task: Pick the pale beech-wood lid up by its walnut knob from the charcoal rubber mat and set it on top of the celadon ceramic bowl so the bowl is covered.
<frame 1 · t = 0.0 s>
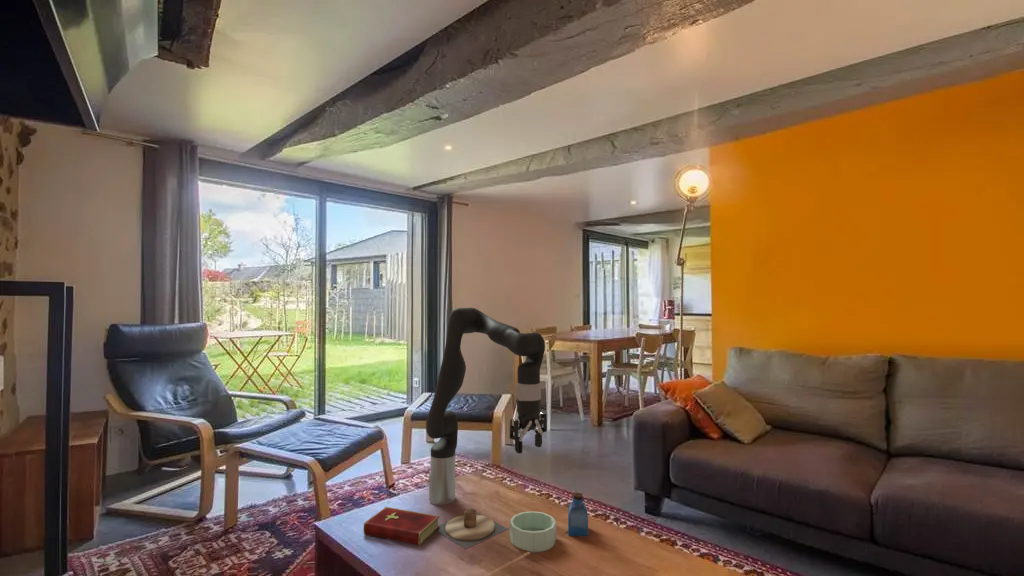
hand: (528, 449, 148), 29 cm above the table, fingers open, 8 cm apart
perfume bottle: (577, 532, 156), on the table
mat: (470, 530, 157), on the table
bowl: (532, 540, 150), on the table
hardcover book: (402, 532, 155), on the table, touching mat
lid: (470, 528, 157), point 1 cm above the table, touching mat
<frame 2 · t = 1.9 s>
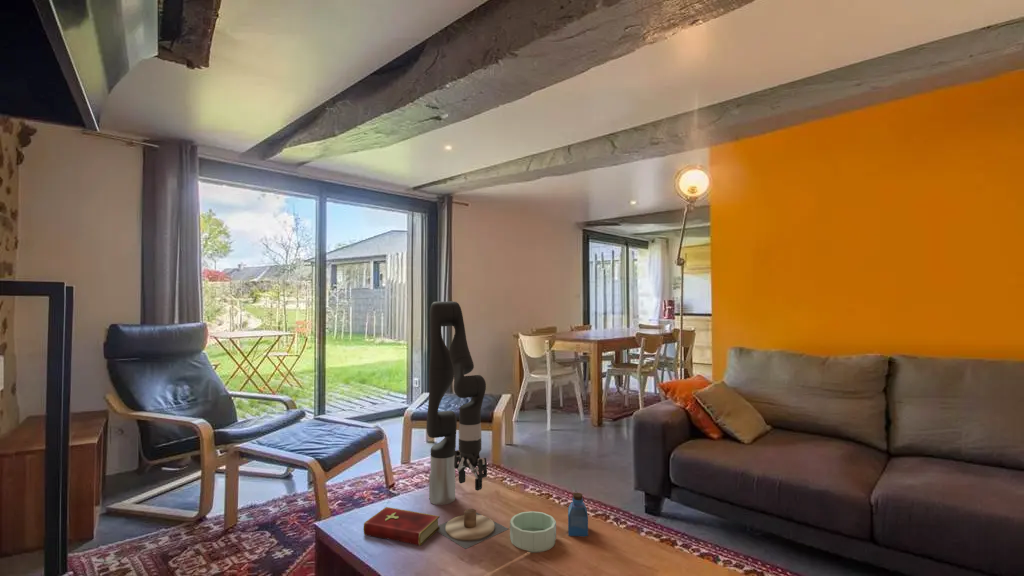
hand: (470, 486, 157), 14 cm above the table, fingers open, 8 cm apart
nothing on the table moved.
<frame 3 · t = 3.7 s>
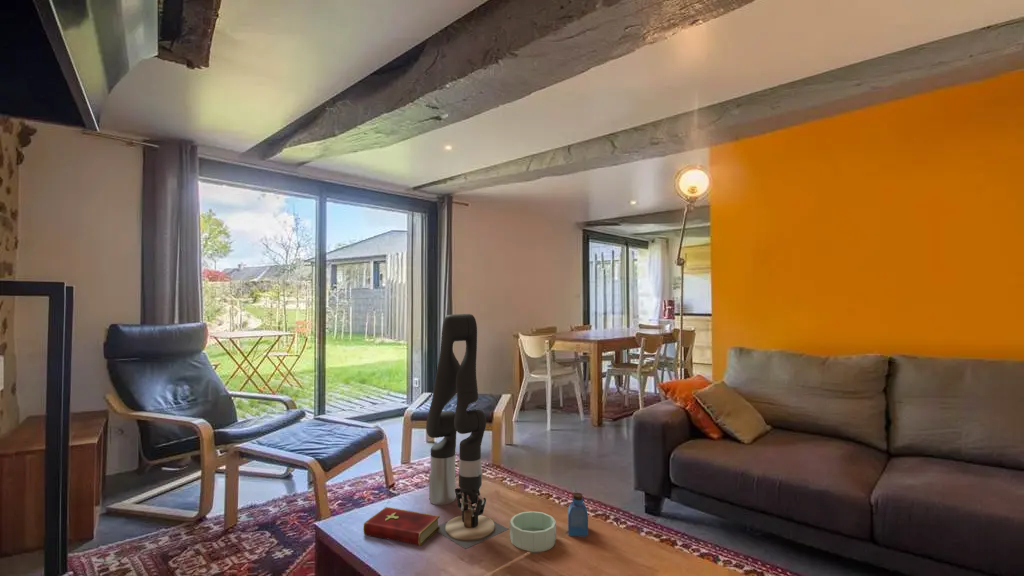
hand: (470, 524, 157), 2 cm above the table, fingers closed on lid, 4 cm apart
lid: (470, 528, 157), point 1 cm above the table, touching gripper, mat
everything else where it was.
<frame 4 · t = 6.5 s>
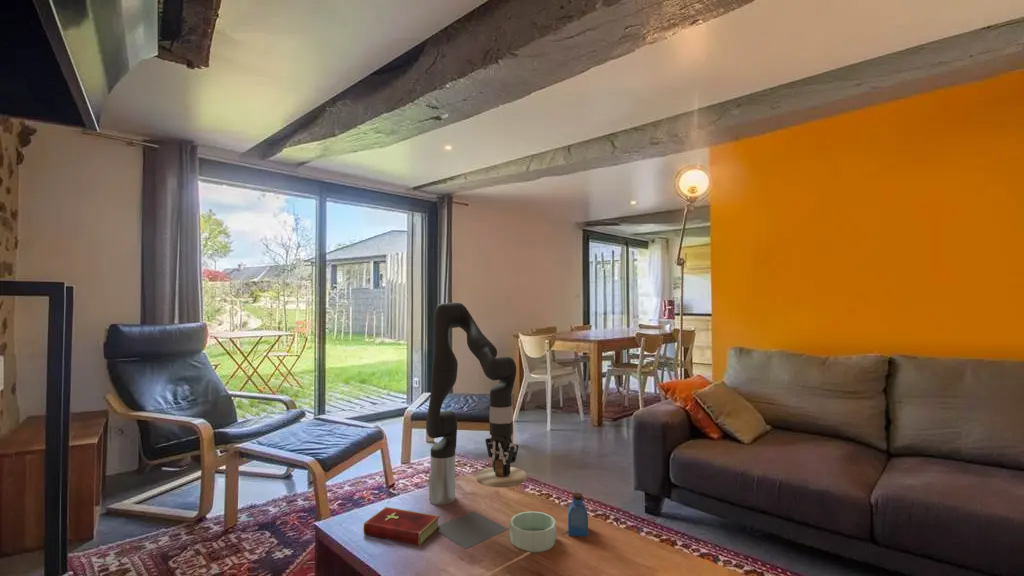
hand: (501, 473, 153), 20 cm above the table, fingers closed on lid, 4 cm apart
lid: (501, 478, 153), point 19 cm above the table, touching gripper
everything else where it was.
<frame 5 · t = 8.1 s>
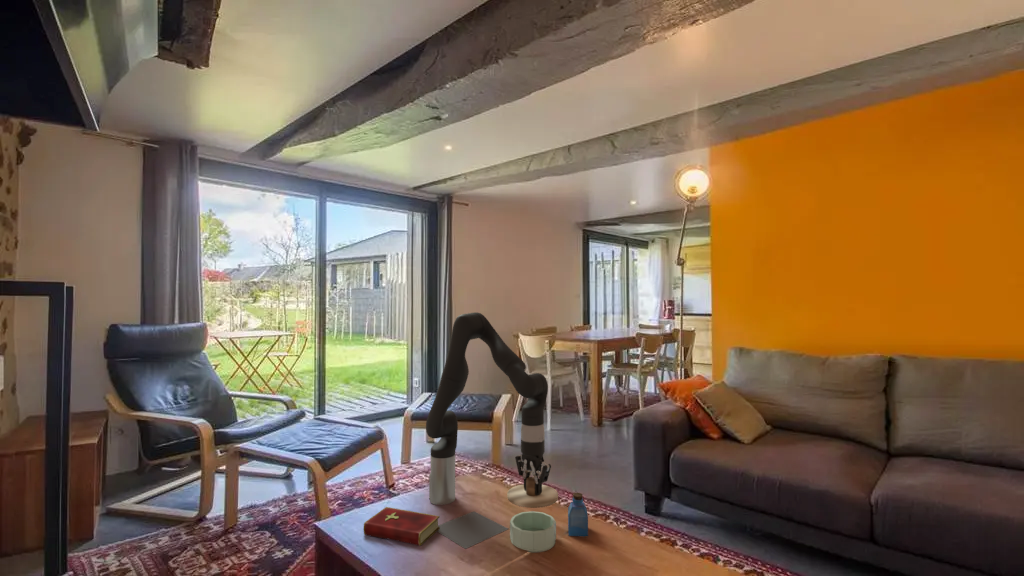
hand: (532, 492, 150), 15 cm above the table, fingers closed on lid, 4 cm apart
lid: (532, 496, 150), point 14 cm above the table, touching gripper
everything else where it was.
when the fingers open (9 cm above the table, at t = 9.5 s): lid drops 1 cm, resting on bowl.
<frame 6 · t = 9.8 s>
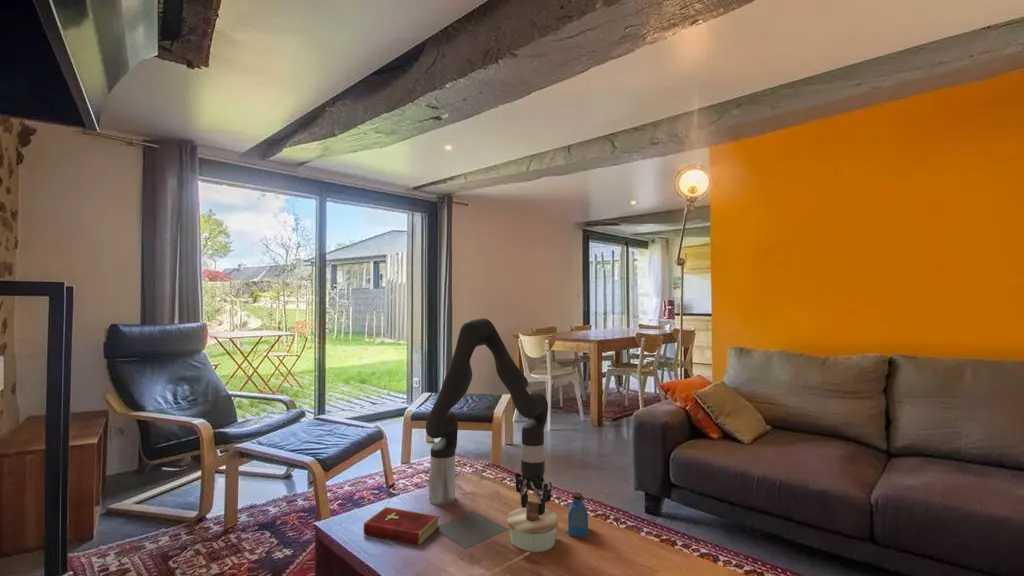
hand: (532, 510, 150), 9 cm above the table, fingers open, 6 cm apart
lid: (532, 521, 150), point 6 cm above the table, touching bowl
everything else where it was.
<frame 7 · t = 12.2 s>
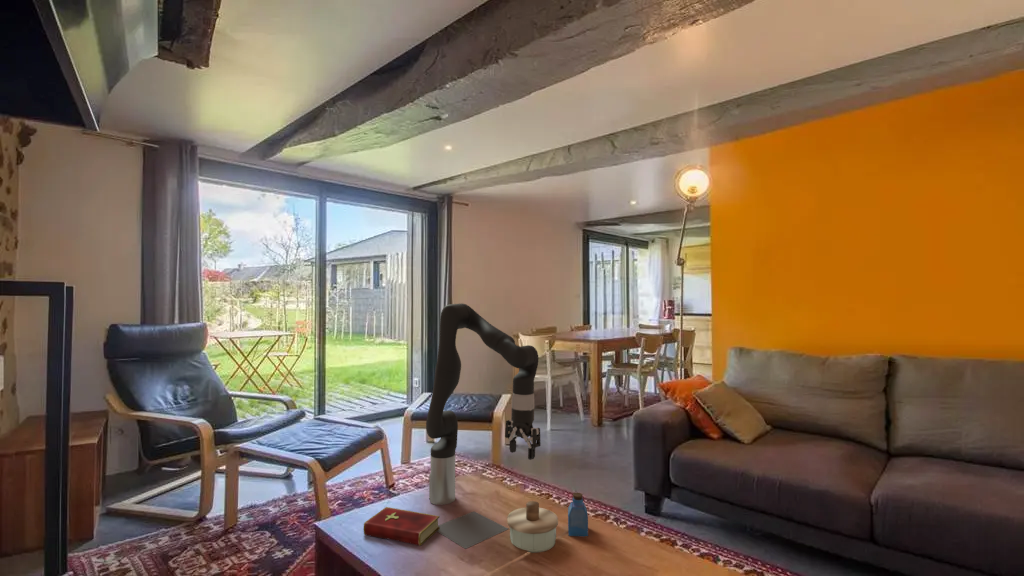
hand: (521, 455, 158), 24 cm above the table, fingers open, 8 cm apart
nothing on the table moved.
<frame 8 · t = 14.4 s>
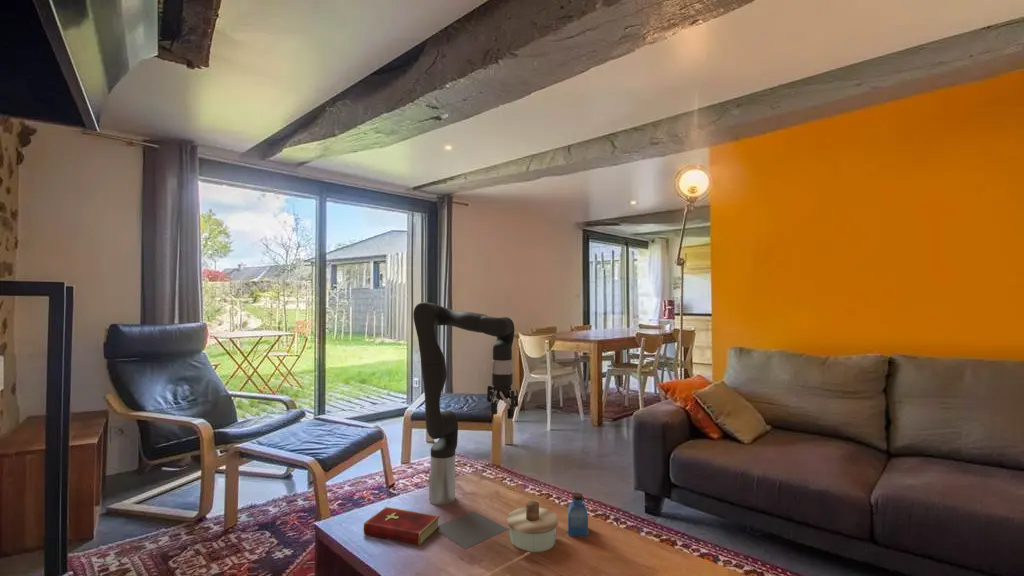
hand: (502, 416, 174), 33 cm above the table, fingers open, 8 cm apart
nothing on the table moved.
at the end: lid 0.1 cm off-centre on the bowl, point 6.0 cm above the bowl's base; lid tilted 0°; the gripper is holding nothing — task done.
